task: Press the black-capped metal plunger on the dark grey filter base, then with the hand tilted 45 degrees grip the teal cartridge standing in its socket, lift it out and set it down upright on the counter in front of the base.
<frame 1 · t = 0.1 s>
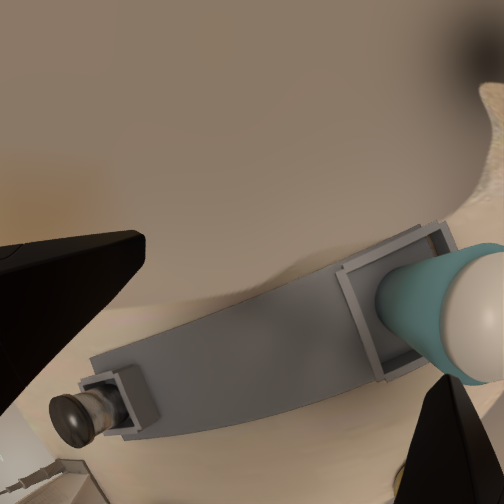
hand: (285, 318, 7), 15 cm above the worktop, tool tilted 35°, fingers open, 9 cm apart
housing: (251, 361, 22), on the worktop
skyscraper: (87, 484, 26), on the worktop
cartridge: (407, 300, 19), point 1 cm above the worktop, touching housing
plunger: (91, 412, 19), point 6 cm above the worktop, slide at 0.0 cm
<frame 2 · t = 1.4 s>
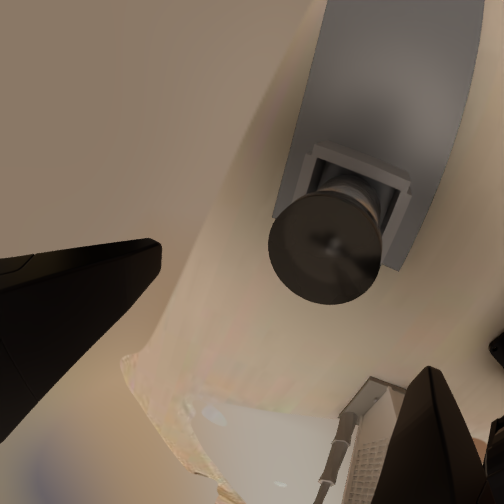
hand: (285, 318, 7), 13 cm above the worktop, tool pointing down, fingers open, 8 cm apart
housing: (405, 14, 11), on the worktop
skyscraper: (393, 405, 23), on the worktop
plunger: (337, 226, 13), point 6 cm above the worktop, slide at 0.0 cm
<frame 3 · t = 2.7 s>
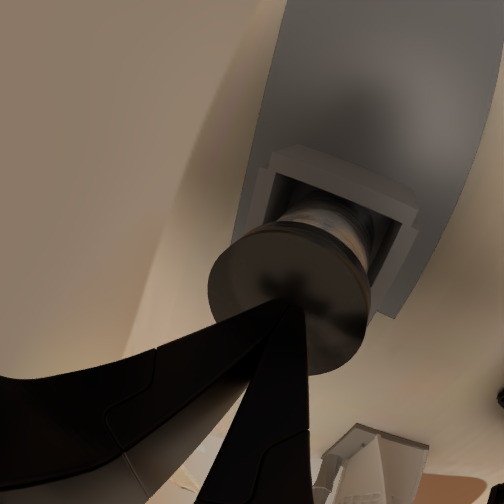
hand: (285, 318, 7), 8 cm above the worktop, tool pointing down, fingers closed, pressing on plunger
skyscraper: (383, 449, 19), on the worktop
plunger: (313, 262, 10), point 5 cm above the worktop, slide at -1.3 cm, touching gripper
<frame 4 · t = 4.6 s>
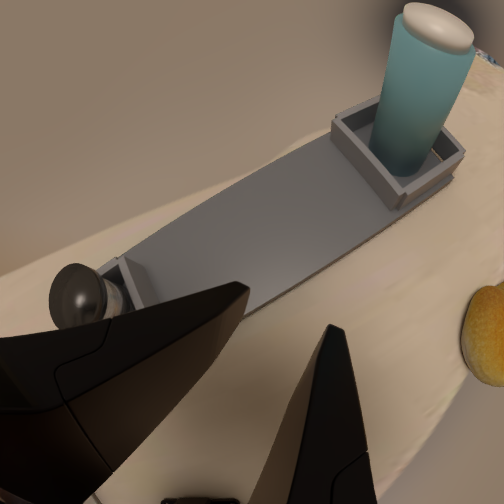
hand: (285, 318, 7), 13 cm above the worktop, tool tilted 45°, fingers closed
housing: (269, 231, 23), on the worktop
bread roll: (499, 332, 17), on the worktop
cartridge: (396, 151, 22), point 1 cm above the worktop, touching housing
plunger: (100, 305, 18), point 5 cm above the worktop, slide at -1.4 cm
when the fingers open (8 cm above the worktop, at t = 11.9 s): cartridge stays where it is, resting on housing.
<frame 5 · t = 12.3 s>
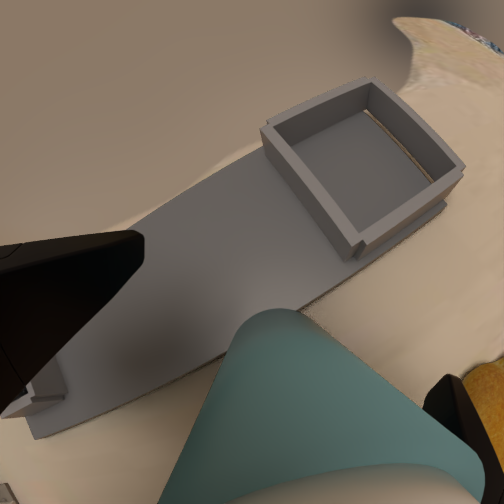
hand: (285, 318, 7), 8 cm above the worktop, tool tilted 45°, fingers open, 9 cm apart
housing: (175, 288, 17), on the worktop
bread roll: (494, 415, 11), on the worktop
cartridge: (278, 356, 14), point 1 cm above the worktop, tilted 15°, touching gripper, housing
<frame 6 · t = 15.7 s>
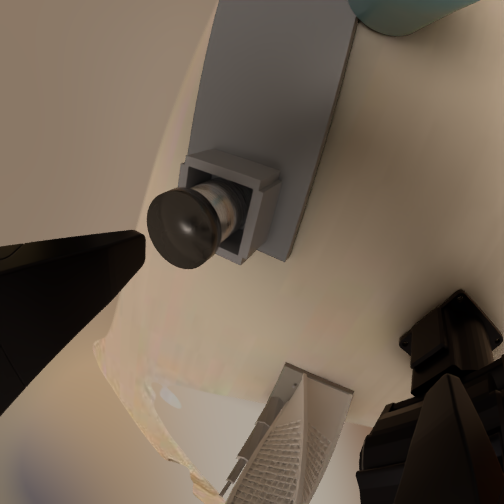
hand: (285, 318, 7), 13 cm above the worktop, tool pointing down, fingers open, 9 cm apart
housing: (283, 23, 15), on the worktop
skyscraper: (316, 393, 27), on the worktop
cartridge: (387, 0, 11), point 1 cm above the worktop, tilted 15°, touching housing
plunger: (208, 213, 18), point 5 cm above the worktop, slide at -1.4 cm
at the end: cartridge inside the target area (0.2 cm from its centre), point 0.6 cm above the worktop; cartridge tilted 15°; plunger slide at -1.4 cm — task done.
